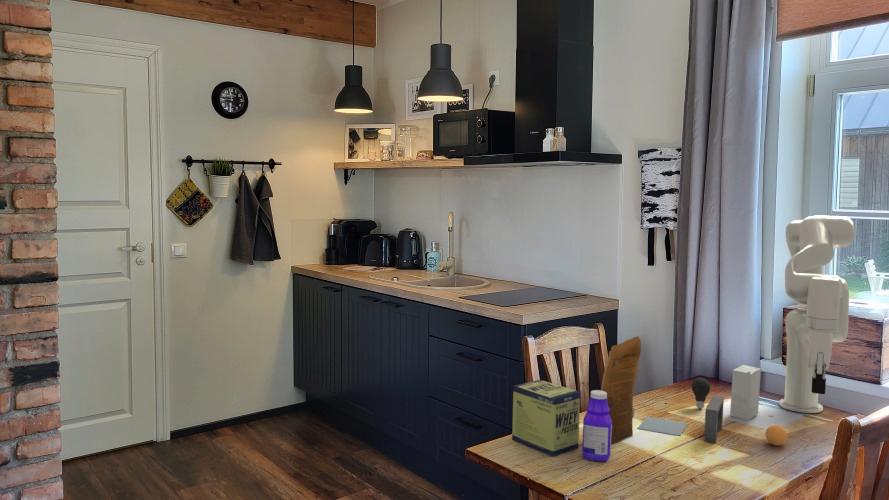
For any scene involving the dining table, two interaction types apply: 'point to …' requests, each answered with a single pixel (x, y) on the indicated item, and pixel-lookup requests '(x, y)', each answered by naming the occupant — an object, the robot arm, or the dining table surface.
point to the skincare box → (745, 392)
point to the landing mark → (662, 426)
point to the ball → (776, 435)
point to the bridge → (713, 419)
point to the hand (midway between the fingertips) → (818, 392)
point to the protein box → (546, 417)
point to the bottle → (597, 428)
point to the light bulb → (700, 391)
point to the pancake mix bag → (621, 386)
